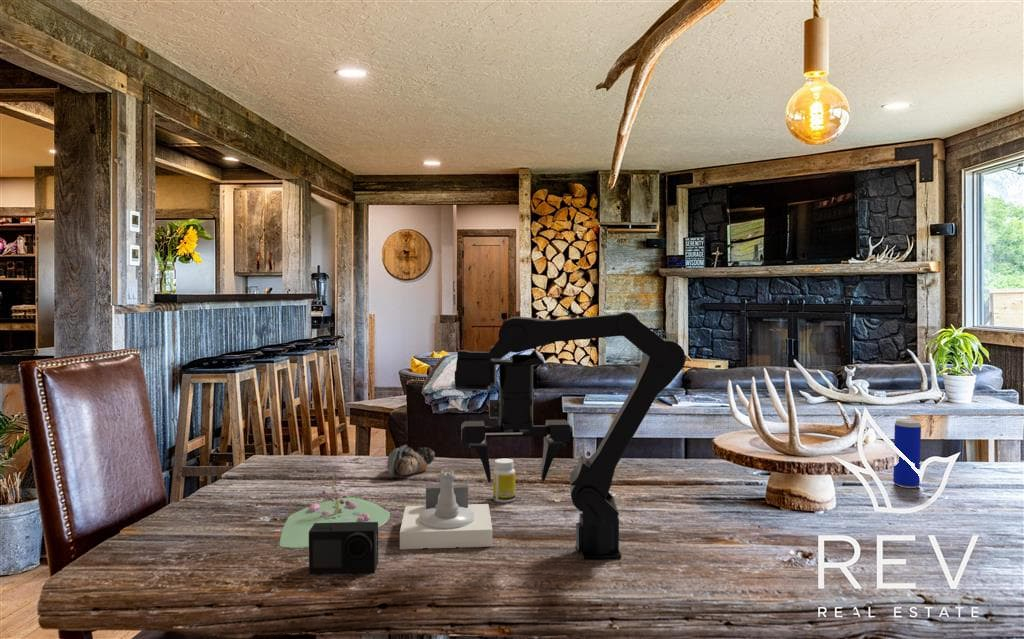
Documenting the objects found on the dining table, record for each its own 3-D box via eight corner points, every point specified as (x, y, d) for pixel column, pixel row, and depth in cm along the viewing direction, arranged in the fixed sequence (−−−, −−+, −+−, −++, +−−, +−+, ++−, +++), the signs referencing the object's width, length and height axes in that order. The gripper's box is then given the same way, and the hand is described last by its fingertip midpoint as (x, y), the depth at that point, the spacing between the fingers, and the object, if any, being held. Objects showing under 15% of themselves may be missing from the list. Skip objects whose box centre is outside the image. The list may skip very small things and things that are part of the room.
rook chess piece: (447, 509, 126) (447, 466, 126) (464, 514, 123) (464, 471, 123) (429, 515, 123) (429, 471, 123) (446, 520, 120) (446, 476, 120)
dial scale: (488, 519, 132) (488, 483, 132) (492, 546, 118) (492, 506, 118) (405, 521, 131) (405, 485, 130) (399, 549, 117) (399, 509, 116)
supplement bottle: (520, 499, 144) (520, 460, 144) (504, 504, 141) (504, 464, 141) (503, 494, 148) (503, 456, 147) (488, 499, 144) (488, 460, 144)
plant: (366, 553, 117) (366, 501, 116) (250, 550, 118) (249, 499, 118) (399, 506, 142) (399, 463, 141) (303, 504, 143) (302, 462, 142)
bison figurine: (385, 481, 159) (427, 480, 158) (383, 451, 159) (425, 450, 158) (397, 468, 171) (436, 467, 170) (395, 441, 171) (435, 439, 170)
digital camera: (306, 578, 105) (305, 534, 105) (314, 564, 111) (313, 522, 111) (373, 576, 106) (373, 532, 106) (378, 562, 111) (378, 520, 111)
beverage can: (919, 485, 155) (921, 420, 154) (919, 490, 151) (920, 423, 150) (893, 481, 158) (895, 417, 157) (892, 487, 153) (894, 421, 153)
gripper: (562, 383, 124) (562, 467, 125) (460, 384, 122) (461, 469, 123) (573, 392, 113) (573, 485, 114) (461, 394, 111) (461, 487, 112)
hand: (516, 481), depth 116 cm, fingers open, 9 cm apart
